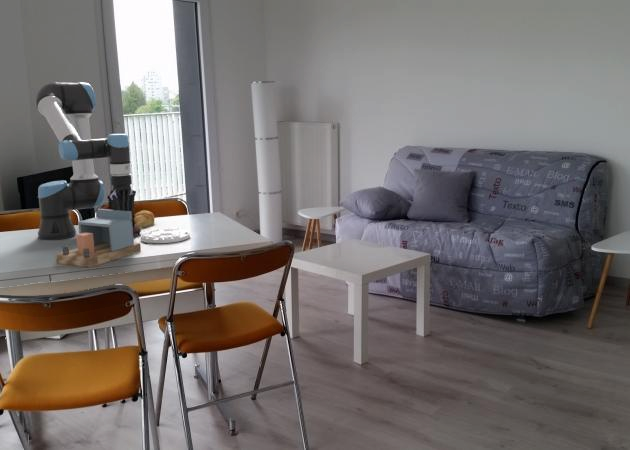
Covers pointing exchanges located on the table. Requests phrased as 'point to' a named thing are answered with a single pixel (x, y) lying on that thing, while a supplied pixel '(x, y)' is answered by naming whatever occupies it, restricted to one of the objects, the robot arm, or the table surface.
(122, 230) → the housing cover
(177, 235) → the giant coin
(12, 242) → the table surface
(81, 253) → the peg
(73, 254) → the housing base
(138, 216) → the bread loaf
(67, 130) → the robot arm
